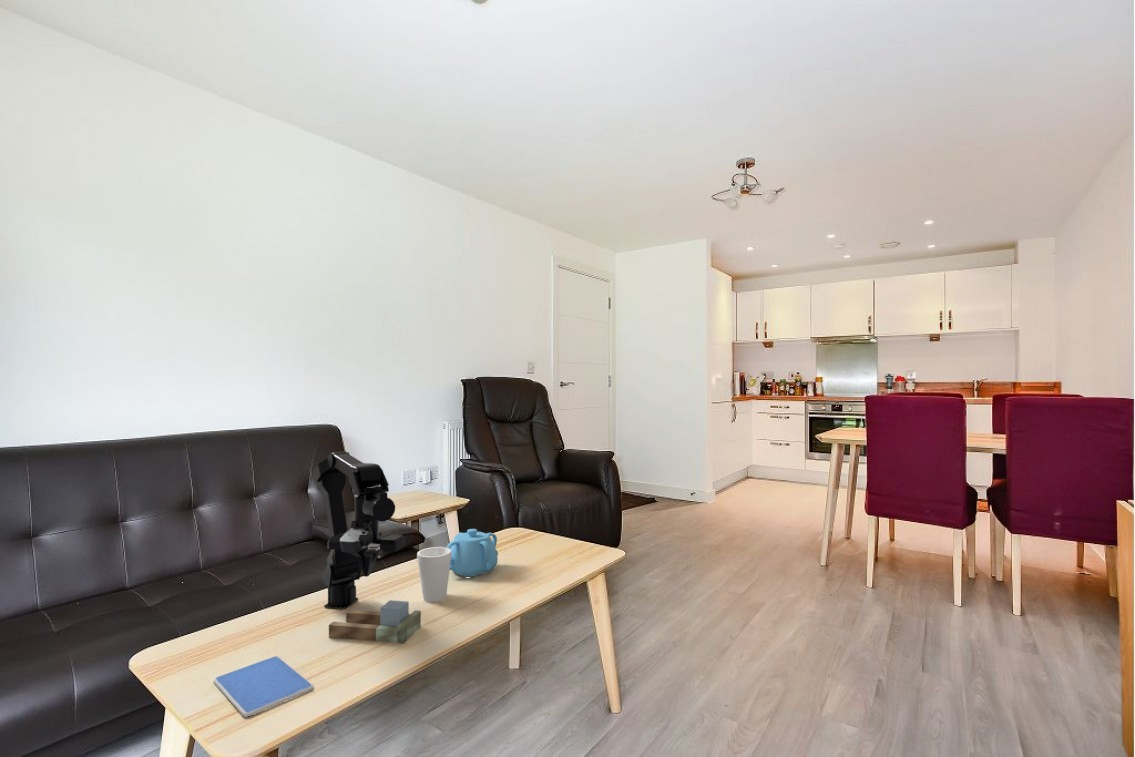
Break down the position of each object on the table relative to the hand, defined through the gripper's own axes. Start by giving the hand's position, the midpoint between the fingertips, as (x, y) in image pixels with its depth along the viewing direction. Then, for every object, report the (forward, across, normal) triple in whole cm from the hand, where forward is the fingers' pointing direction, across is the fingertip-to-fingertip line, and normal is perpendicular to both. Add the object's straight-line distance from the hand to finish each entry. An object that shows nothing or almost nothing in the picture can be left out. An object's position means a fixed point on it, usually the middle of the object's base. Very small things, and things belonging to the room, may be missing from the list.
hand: (367, 576), depth 134 cm
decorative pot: (+12, +13, +40) cm, 44 cm away
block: (+12, +10, -4) cm, 16 cm away
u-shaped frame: (+12, +4, -4) cm, 13 cm away
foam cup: (+12, +10, +18) cm, 24 cm away
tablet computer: (+13, -6, -29) cm, 32 cm away
